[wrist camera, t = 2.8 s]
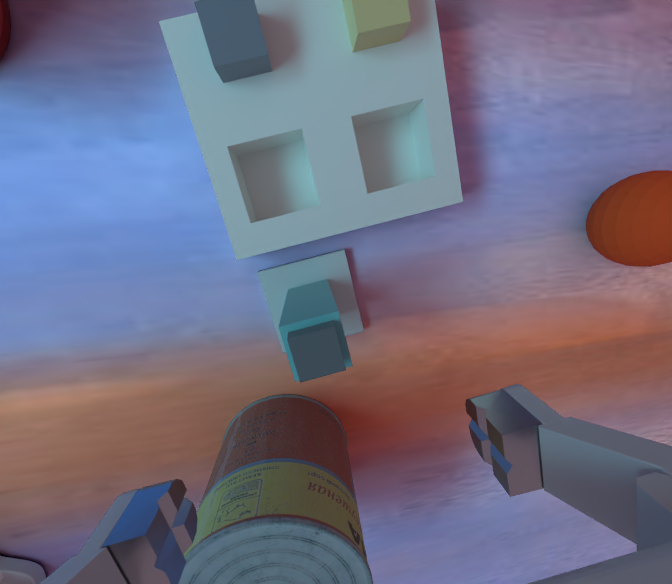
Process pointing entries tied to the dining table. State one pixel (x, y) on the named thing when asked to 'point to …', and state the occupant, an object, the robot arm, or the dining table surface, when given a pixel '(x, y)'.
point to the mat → (309, 272)
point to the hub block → (316, 114)
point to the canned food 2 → (280, 502)
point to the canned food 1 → (4, 26)
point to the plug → (313, 332)
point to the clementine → (634, 220)
